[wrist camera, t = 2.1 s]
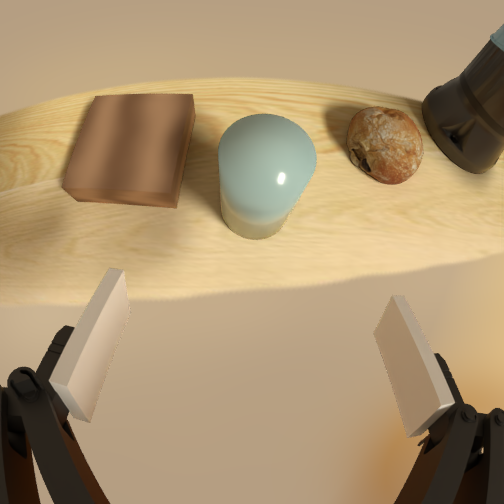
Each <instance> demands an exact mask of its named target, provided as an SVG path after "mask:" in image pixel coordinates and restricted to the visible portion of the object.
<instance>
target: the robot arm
mask: <svg viewBox="0 0 504 504" xmlns="http://www.w3.org/2000/svg"><path fill="white" fill-rule="evenodd" d="M422 112H423V117H424V121H425V123H426V126H427V128H428V130H429V132H430V134H431V136H432V137H433V139H434V140H435V142H436V143H437V145H438V146H439V147H440V149H441V150H442V151H443V152H444V153H445V154H446V155H447V156H448V157H449V158H450V159H451V160H452V161H453V162H454V163H455V164H457V165H458V166H459V167H461V168H462V169H464V170H466V171H468V172H471V173H475V174H481V173H484V172H485V171H487V170H488V169H490V168H491V167H493V166H494V165H495V164H496V162H497V160H498V158H499V156H500V155H501V153H502V152H503V150H504V24H503V25H502V26H501V27H500V28H499V29H498V30H497V31H496V32H495V33H494V34H492V35H491V36H490V40H489V42H488V43H487V44H486V45H485V46H484V48H483V49H482V50H481V51H480V52H479V53H478V55H477V56H476V57H475V58H474V59H473V60H472V62H471V63H470V64H469V65H468V66H467V67H466V69H465V70H464V71H463V72H462V73H461V74H460V75H459V76H458V77H457V78H454V79H452V80H450V81H449V82H447V83H445V84H444V85H443V86H438V87H436V88H434V89H433V90H432V91H431V92H430V93H429V94H428V95H427V96H426V98H425V99H424V101H423V105H422ZM130 313H131V311H130V305H129V300H128V294H127V288H126V281H125V275H124V270H121V269H113V268H109V270H108V271H107V273H106V274H105V276H104V278H103V279H102V281H101V283H100V284H99V286H98V288H97V289H96V291H95V293H94V295H93V296H92V298H91V300H90V302H89V303H88V305H87V307H86V309H85V310H84V312H83V314H82V316H81V318H80V319H79V321H78V323H77V325H76V327H70V326H64V327H63V328H62V329H61V330H59V331H58V332H57V333H56V335H55V337H54V339H53V340H52V344H51V345H50V346H49V348H48V351H47V352H46V354H45V356H44V357H43V359H42V361H41V363H40V365H39V367H38V369H37V371H36V373H35V372H34V371H33V370H32V369H31V368H28V367H19V368H17V369H15V370H14V371H13V372H12V373H11V374H10V375H9V378H8V380H7V386H8V387H6V388H5V387H1V385H0V504H41V503H40V499H39V494H38V489H37V484H36V478H35V473H34V465H33V458H32V451H33V454H34V457H35V460H36V462H37V465H38V467H39V470H40V473H41V475H42V478H43V480H44V482H45V485H46V487H47V489H48V491H49V494H50V496H51V498H52V500H53V502H54V504H110V502H109V501H108V499H107V498H106V496H105V495H104V493H103V491H102V489H101V487H100V486H99V484H98V482H97V480H96V478H95V476H94V475H93V473H92V471H91V469H90V467H89V465H88V463H87V462H86V459H85V457H84V455H83V453H82V451H81V449H80V447H79V444H78V442H77V440H76V438H75V436H74V433H73V431H72V429H71V426H70V424H69V422H68V420H67V416H68V413H69V412H70V413H71V415H72V416H73V417H74V418H76V419H79V420H82V421H86V422H89V423H90V422H91V419H92V415H93V412H94V409H95V406H96V403H97V400H98V397H99V394H100V392H101V389H102V386H103V383H104V380H105V377H106V374H107V372H108V369H109V366H110V364H111V361H112V359H113V356H114V353H115V351H116V348H117V346H118V343H119V340H120V338H121V335H122V333H123V330H124V328H125V326H126V323H127V321H128V318H129V316H130ZM374 336H375V339H376V342H377V344H378V347H379V350H380V353H381V356H382V358H383V361H384V364H385V367H386V370H387V373H388V376H389V379H390V382H391V385H392V388H393V391H394V394H395V398H396V401H397V404H398V407H399V411H400V414H401V417H402V420H403V424H404V428H405V431H406V435H407V437H413V436H418V435H421V434H422V433H424V432H425V431H426V430H427V429H428V430H429V433H430V434H429V435H428V436H426V437H425V438H424V439H423V440H422V441H420V442H419V444H418V446H420V445H421V444H423V443H424V444H423V446H422V449H421V451H420V453H419V455H418V458H417V460H416V462H415V464H414V466H413V468H412V470H411V472H410V475H409V477H408V479H407V480H406V483H405V484H404V487H403V488H402V490H401V492H400V494H399V496H398V497H397V499H396V501H395V503H394V504H504V411H503V410H502V409H500V408H495V409H493V410H492V411H491V412H490V413H489V414H483V413H477V411H476V410H475V408H474V407H472V406H471V405H468V404H465V403H464V402H463V399H462V397H461V395H460V392H459V390H458V388H457V385H456V384H455V381H454V379H453V378H452V374H451V372H450V371H449V368H448V366H447V364H446V362H445V360H444V359H443V358H442V357H441V356H440V354H438V353H436V354H434V353H433V351H432V349H431V347H430V345H429V343H428V341H427V339H426V337H425V335H424V333H423V331H422V329H421V327H420V325H419V323H418V321H417V319H416V317H415V315H414V313H413V311H412V309H411V308H410V306H409V304H408V302H407V300H406V298H405V297H404V296H397V295H392V296H391V299H390V301H389V303H388V305H387V307H386V309H385V311H384V313H383V315H382V317H381V319H380V321H379V323H378V325H377V327H376V329H375V331H374ZM483 447H484V451H483V453H482V452H481V450H482V448H483ZM31 449H32V450H31Z"/></svg>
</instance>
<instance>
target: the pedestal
mask: <svg viewBox="0 0 504 504" xmlns="http://www.w3.org/2000/svg"><path fill="white" fill-rule="evenodd" d="M195 116H196V115H195V108H194V100H193V94H124V95H106V96H95V99H94V101H93V103H92V105H91V108H90V110H89V112H88V115H87V117H86V119H85V122H84V124H83V127H82V129H81V132H80V135H79V137H78V140H77V143H76V145H75V148H74V151H73V154H72V157H71V160H70V163H69V166H68V169H67V172H66V175H65V178H64V182H63V185H62V188H63V189H64V190H65V191H66V192H67V193H68V194H70V195H71V196H72V197H73V198H74V199H75V200H76V201H80V202H98V203H114V204H128V205H142V206H155V207H167V208H177V204H178V198H179V193H180V187H181V182H182V177H183V172H184V167H185V162H186V157H187V152H188V147H189V142H190V138H191V133H192V129H193V125H194V120H195Z"/></svg>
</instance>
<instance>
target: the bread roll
mask: <svg viewBox="0 0 504 504" xmlns="http://www.w3.org/2000/svg"><path fill="white" fill-rule="evenodd" d="M347 146H348V149H349V151H350V152H351V154H350V159H351V161H352V162H353V164H355V165H356V166H357V167H358V166H359V167H360V168H361V169H362V170H364V171H365V172H366V173H367V174H369V175H371V176H373V177H374V178H375V179H377V180H378V181H379V182H381V183H384V184H391V185H393V184H399V183H402V182H404V181H406V180H407V179H409V178H410V177H411V176H412V175H413V174H414V173H415V171H416V170H417V169H418V167H419V165H420V163H421V159H422V156H423V144H422V138H421V135H420V132H419V130H418V128H417V127H416V125H415V123H414V122H413V121H412V119H410V118H409V117H408V116H407V115H406V114H405V113H403V112H401V111H399V110H396V109H388V108H384V107H379V106H377V107H369V108H366V109H364V110H362V111H360V112H358V113H357V114H356V115H355V116H354V117H353V119H352V120H351V123H350V126H349V130H348V136H347Z"/></svg>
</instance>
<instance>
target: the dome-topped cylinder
mask: <svg viewBox="0 0 504 504" xmlns="http://www.w3.org/2000/svg"><path fill="white" fill-rule="evenodd" d="M218 160H219V182H220V201H221V213H222V217H223V219H224V221H225V223H226V225H227V226H228V227H229V228H230V229H231V230H232V231H233V232H234V233H236V234H237V235H239V236H241V237H243V238H247V239H252V240H259V239H265V238H268V237H270V236H272V235H274V234H276V233H277V232H278V231H279V230H280V229H281V228H282V227H283V225H284V224H285V222H286V220H287V219H288V217H289V215H290V214H291V212H292V210H293V208H294V207H295V205H296V203H297V201H298V200H299V198H300V196H301V194H302V193H303V191H304V189H305V187H306V186H307V184H308V182H309V180H310V179H311V177H312V175H313V173H314V171H315V167H316V151H315V147H314V145H313V142H312V141H311V139H310V137H309V136H308V134H307V133H306V132H305V131H304V130H303V129H302V128H301V127H300V126H298V125H297V124H296V123H294V122H292V121H290V120H289V119H286V118H284V117H281V116H277V115H272V114H255V115H250V116H247V117H244V118H242V119H240V120H238V121H236V122H235V123H233V124H232V125H231V126H230V127H229V128H228V129H227V130H226V131H225V133H224V134H223V136H222V138H221V140H220V143H219V148H218Z"/></svg>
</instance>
